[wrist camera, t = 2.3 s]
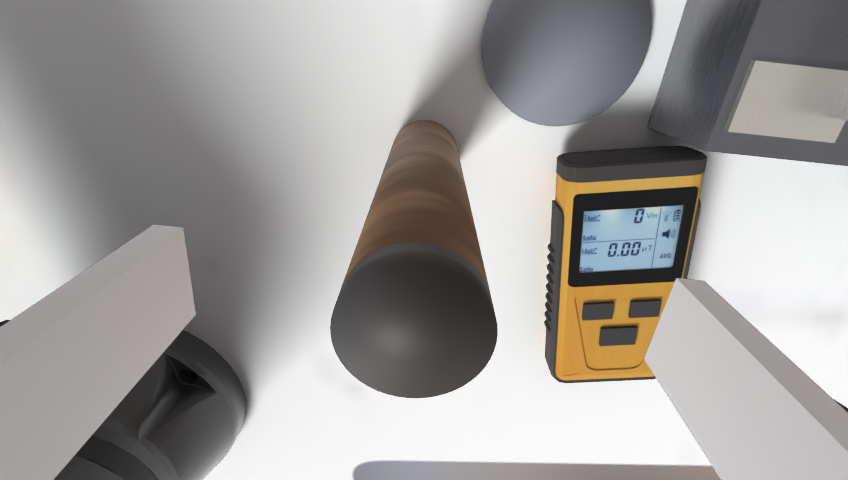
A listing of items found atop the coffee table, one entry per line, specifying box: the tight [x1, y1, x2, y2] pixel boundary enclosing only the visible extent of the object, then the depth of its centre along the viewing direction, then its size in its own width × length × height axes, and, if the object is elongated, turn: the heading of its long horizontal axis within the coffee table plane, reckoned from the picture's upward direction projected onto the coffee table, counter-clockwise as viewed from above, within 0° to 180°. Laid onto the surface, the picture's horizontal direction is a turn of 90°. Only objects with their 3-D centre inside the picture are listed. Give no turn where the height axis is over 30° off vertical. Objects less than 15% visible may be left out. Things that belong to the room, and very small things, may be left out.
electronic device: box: [544, 146, 707, 383], centre depth 28 cm, size 8×16×3 cm, turn 4°
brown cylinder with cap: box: [330, 120, 497, 398], centre depth 19 cm, size 4×4×18 cm
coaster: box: [482, 0, 651, 126], centre depth 24 cm, size 9×9×1 cm
